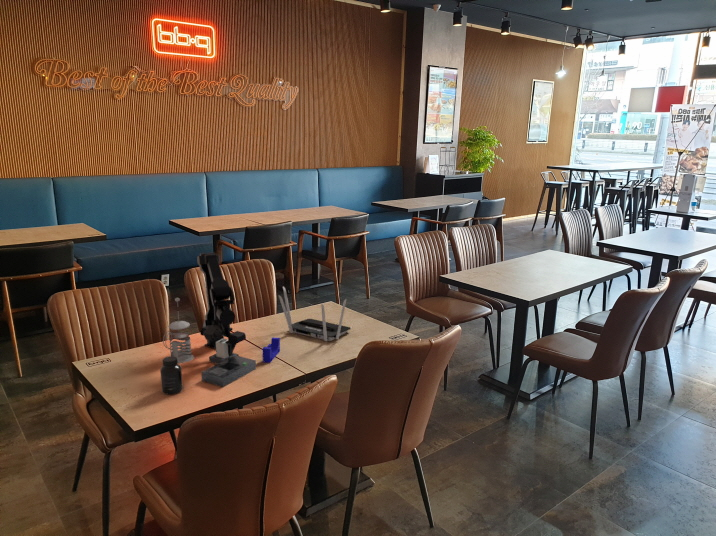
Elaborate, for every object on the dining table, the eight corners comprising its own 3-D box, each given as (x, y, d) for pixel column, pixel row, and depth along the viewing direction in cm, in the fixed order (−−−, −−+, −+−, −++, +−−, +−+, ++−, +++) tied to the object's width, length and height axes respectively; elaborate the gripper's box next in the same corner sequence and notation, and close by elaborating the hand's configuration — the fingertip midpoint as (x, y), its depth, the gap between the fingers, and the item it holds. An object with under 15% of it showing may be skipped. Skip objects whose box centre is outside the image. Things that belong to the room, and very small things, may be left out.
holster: (209, 361, 217) (208, 356, 216) (223, 354, 224) (223, 350, 223) (224, 366, 213) (224, 361, 213) (238, 358, 220) (238, 354, 219)
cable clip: (269, 350, 229) (269, 337, 228) (279, 351, 228) (279, 337, 227) (259, 362, 217) (258, 347, 216) (270, 363, 217) (269, 348, 215)
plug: (216, 361, 218) (215, 340, 215) (223, 357, 221) (222, 337, 219) (224, 363, 216) (223, 342, 214) (231, 359, 219) (230, 339, 217)
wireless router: (361, 334, 249) (362, 291, 244) (333, 351, 229) (333, 304, 225) (300, 320, 265) (300, 280, 260) (269, 335, 246) (268, 291, 241)
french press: (199, 358, 220) (195, 297, 214) (172, 366, 212) (167, 304, 206) (185, 351, 226) (181, 292, 220) (159, 359, 218) (154, 298, 212)
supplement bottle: (164, 386, 195) (162, 354, 192) (184, 386, 196) (182, 354, 193) (159, 395, 189) (157, 362, 186) (180, 395, 189) (178, 362, 186)
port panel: (202, 380, 200) (201, 370, 199) (235, 363, 215) (235, 354, 215) (222, 387, 195) (222, 377, 195) (255, 369, 211) (255, 359, 210)
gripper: (188, 318, 212) (191, 356, 215) (226, 327, 203) (227, 366, 206) (209, 310, 221) (211, 347, 225) (246, 318, 212) (247, 356, 216)
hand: (223, 354), depth 218 cm, fingers open, 6 cm apart
